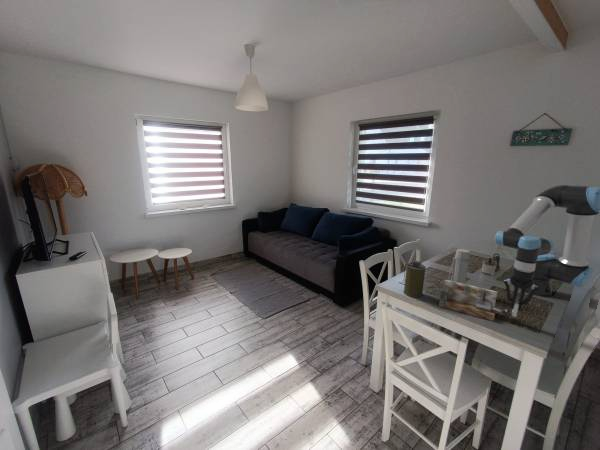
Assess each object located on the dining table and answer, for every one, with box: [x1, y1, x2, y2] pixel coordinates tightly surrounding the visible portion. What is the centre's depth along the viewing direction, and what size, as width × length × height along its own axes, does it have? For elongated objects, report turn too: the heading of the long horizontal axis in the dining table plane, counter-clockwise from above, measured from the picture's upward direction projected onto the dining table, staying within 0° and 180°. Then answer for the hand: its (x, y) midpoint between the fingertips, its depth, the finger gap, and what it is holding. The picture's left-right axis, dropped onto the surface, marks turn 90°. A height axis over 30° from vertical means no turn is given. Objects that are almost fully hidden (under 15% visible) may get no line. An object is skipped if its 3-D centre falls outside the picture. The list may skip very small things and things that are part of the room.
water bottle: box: [448, 248, 470, 284], centre depth 158 cm, size 9×8×25 cm
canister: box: [403, 259, 427, 299], centre depth 153 cm, size 11×10×20 cm
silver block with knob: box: [475, 292, 511, 318], centre depth 132 cm, size 14×6×9 cm, turn 55°
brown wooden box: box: [438, 279, 498, 322], centre depth 138 cm, size 24×10×12 cm, turn 55°
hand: (514, 315), depth 128 cm, fingers closed
